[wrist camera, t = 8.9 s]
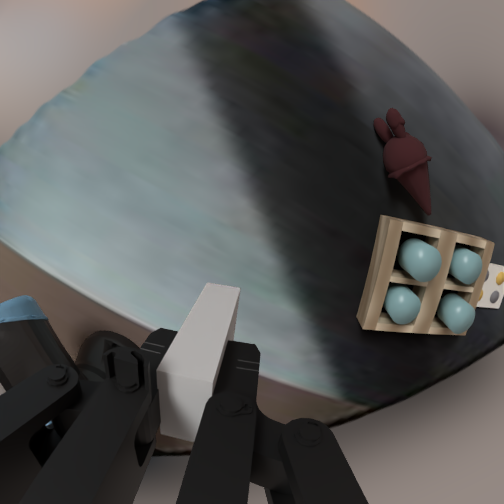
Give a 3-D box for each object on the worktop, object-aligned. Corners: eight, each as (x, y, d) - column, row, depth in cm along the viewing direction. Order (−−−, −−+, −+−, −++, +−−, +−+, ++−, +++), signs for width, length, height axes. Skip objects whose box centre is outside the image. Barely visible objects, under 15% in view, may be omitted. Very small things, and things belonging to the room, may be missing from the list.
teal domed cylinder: (433, 319, 41) (445, 333, 36) (442, 291, 39) (456, 303, 35) (454, 321, 41) (468, 334, 36) (464, 294, 39) (479, 305, 35)
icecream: (461, 202, 33) (414, 98, 31) (427, 226, 32) (374, 112, 30) (431, 205, 39) (388, 114, 38) (398, 227, 39) (351, 129, 37)
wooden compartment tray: (356, 316, 44) (362, 329, 41) (380, 214, 40) (390, 219, 36) (454, 324, 44) (465, 335, 40) (481, 237, 39) (494, 243, 36)
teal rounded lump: (377, 309, 43) (386, 323, 39) (385, 279, 42) (396, 291, 37) (403, 311, 43) (414, 325, 38) (412, 283, 42) (424, 295, 37)
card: (462, 304, 43) (464, 305, 42) (475, 260, 40) (478, 261, 40) (497, 307, 42) (499, 308, 41) (509, 267, 40) (512, 268, 39)
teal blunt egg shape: (394, 268, 39) (406, 280, 35) (401, 235, 38) (415, 243, 33) (421, 272, 39) (436, 284, 34) (429, 240, 38) (445, 249, 33)
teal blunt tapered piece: (440, 272, 41) (455, 282, 36) (448, 242, 39) (463, 250, 35) (462, 275, 41) (477, 285, 36) (469, 247, 39) (485, 255, 35)
